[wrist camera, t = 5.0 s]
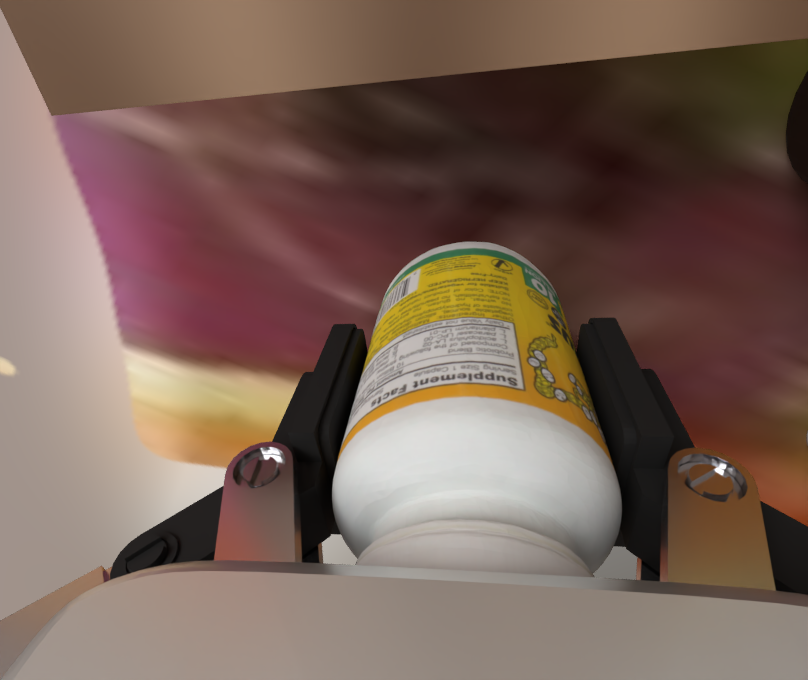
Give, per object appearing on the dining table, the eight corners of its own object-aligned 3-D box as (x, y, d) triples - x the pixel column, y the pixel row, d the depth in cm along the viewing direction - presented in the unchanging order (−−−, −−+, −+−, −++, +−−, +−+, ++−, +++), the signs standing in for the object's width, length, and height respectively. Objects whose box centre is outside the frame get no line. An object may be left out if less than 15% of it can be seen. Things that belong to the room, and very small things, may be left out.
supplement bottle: (364, 249, 13) (218, 584, 5) (560, 222, 12) (726, 591, 4) (400, 391, 16) (339, 741, 8) (560, 380, 15) (660, 767, 7)
